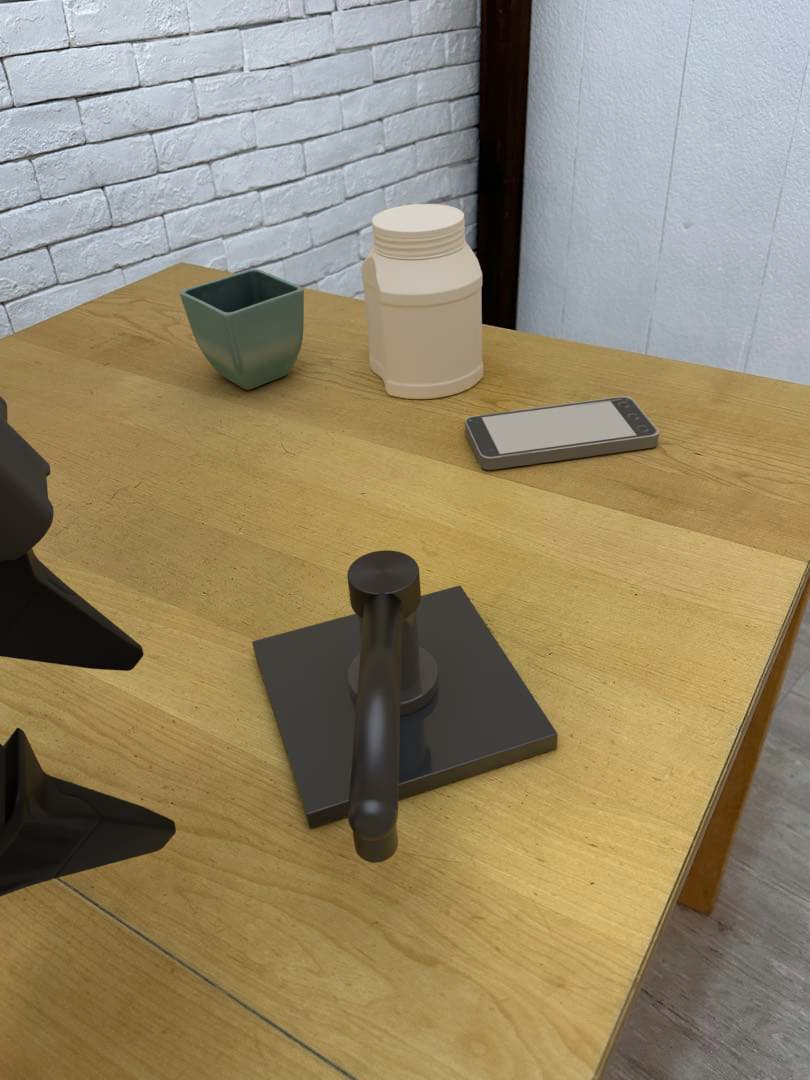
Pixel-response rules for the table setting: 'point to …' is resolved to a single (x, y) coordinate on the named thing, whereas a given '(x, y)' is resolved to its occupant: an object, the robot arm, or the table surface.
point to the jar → (423, 302)
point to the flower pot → (247, 325)
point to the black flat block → (401, 703)
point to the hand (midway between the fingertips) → (151, 738)
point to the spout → (379, 696)
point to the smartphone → (559, 432)
